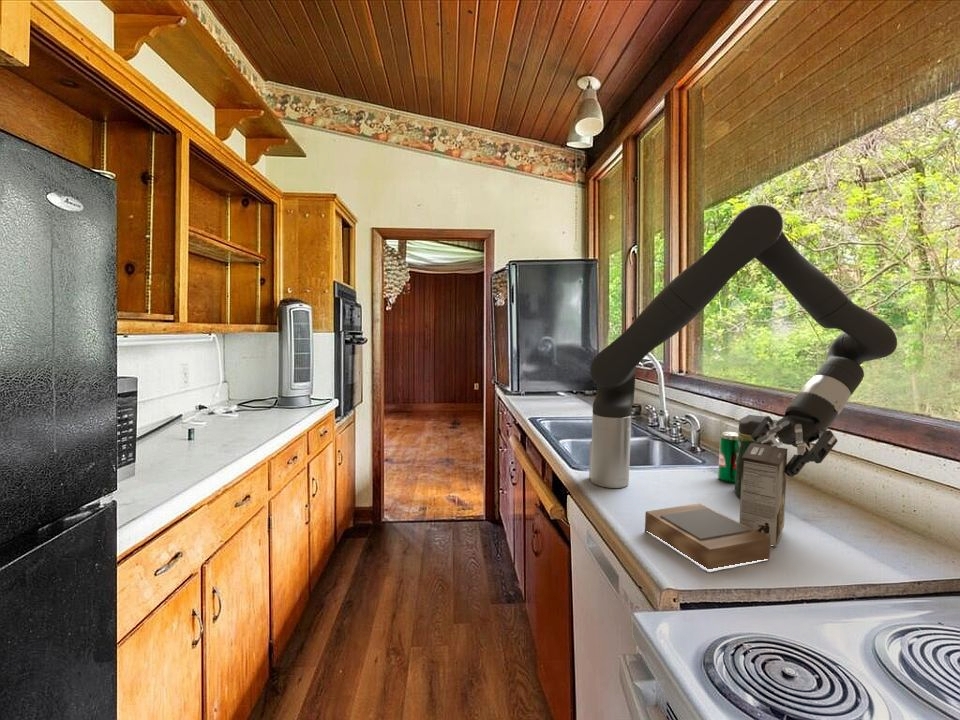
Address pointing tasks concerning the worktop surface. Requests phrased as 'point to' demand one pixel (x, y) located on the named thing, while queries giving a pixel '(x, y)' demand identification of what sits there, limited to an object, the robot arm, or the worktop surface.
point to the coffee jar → (745, 443)
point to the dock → (707, 535)
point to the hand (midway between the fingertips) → (769, 467)
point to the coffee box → (763, 490)
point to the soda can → (728, 457)
